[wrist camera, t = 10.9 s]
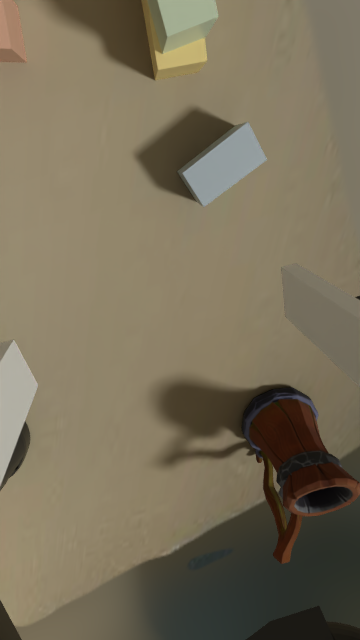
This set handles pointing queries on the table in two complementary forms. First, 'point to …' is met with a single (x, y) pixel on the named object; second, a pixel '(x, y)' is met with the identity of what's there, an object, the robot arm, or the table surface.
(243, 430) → the mug
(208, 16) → the sage brick
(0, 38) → the terracotta brick
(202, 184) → the slate brick
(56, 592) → the table surface
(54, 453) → the table surface
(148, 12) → the ochre brick
